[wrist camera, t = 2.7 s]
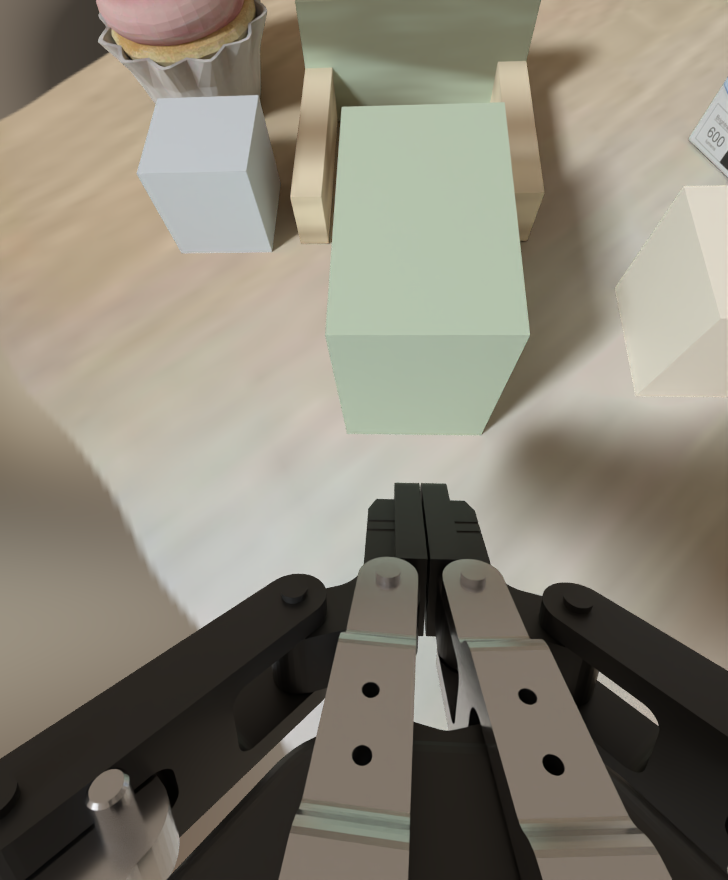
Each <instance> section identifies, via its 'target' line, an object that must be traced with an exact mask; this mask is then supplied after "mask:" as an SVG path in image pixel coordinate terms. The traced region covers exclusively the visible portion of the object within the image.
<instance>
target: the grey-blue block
mask: <svg viewBox="0 0 728 880" xmlns="http://www.w3.org/2000/svg"><path fill="white" fill-rule="evenodd" d="M137 175H138V177H139V179H140V181H141V182H142V184H143V186H144V188H145V189H146V191H147V193H148V195H149V197H150V198H151V200H152V202H153V204H154V205H155V207H156V209H157V211H158V212H159V214H160V216H161V218H162V219H163V221H164V223H165V225H166V226H167V228H168V230H169V232H170V234H171V235H172V237H173V239H174V241H175V242H176V244H177V246H178V248H179V249H180V251H181V253H243V252H272V249H273V241H274V233H275V225H276V217H277V209H278V202H279V194H280V186H281V183H280V179H279V175H278V171H277V167H276V163H275V159H274V155H273V151H272V147H271V143H270V139H269V135H268V131H267V127H266V123H265V119H264V115H263V111H262V107H261V103H260V99H259V95H245V96H215V97H186V98H157V102H156V105H155V109H154V113H153V116H152V120H151V123H150V127H149V131H148V134H147V138H146V142H145V145H144V149H143V152H142V156H141V160H140V163H139V167H138V171H137Z"/></svg>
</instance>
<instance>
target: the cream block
mask: <svg viewBox="0 0 728 880" xmlns="http://www.w3.org/2000/svg"><path fill="white" fill-rule="evenodd" d="M615 291H616V297H617V302H618V307H619V313H620V318H621V323H622V328H623V334H624V339H625V344H626V349H627V355H628V360H629V365H630V370H631V376H632V381H633V386H634V391H635V396H646V397H728V185H717V186H684V187H683V188H682V190H681V191H680V192H679V194H678V195H677V197H676V198H675V200H674V201H673V203H672V204H671V206H670V207H669V209H668V210H667V212H666V213H665V215H664V216H663V218H662V219H661V221H660V222H659V224H658V225H657V226H656V228H655V229H654V231H653V232H652V234H651V235H650V237H649V238H648V240H647V241H646V243H645V244H644V246H643V247H642V249H641V250H640V252H639V253H638V255H637V256H636V258H635V259H634V260H633V262H632V263H631V265H630V266H629V268H628V269H627V271H626V272H625V274H624V275H623V277H622V278H621V280H620V281H619V283H618V284H617V286H616V287H615Z"/></svg>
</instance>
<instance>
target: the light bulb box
mask: <svg viewBox="0 0 728 880" xmlns="http://www.w3.org/2000/svg"><path fill="white" fill-rule="evenodd" d="M689 141H690V142H691V143H692V144H694V145H695V146H696V147H697V148H698V149H699V150H700V151H701V152H702V153H703V154H704V155H705V156H706V157H707V158H708V159H709V160H710V161H711V162H712V163H713V164H714V165H715V166H716V167H717V168H718V169H719V170H720V171H722V172H723V173H724V174H725V175H726V176H727V177H728V77H727V79H726V80H725V82H724V83H723V85H722V87H721V88H720V90H719V91H718V93H717V94H716V96H715V98H714V99H713V101H712V102H711V104H710V105H709V107H708V109H707V110H706V112H705V113H704V115H703V116H702V118H701V120H700V121H699V123H698V124H697V126H696V127H695V129H694V131H693V132H692V134H691V135H690V137H689Z"/></svg>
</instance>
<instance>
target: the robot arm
mask: <svg viewBox="0 0 728 880" xmlns="http://www.w3.org/2000/svg"><path fill="white" fill-rule="evenodd" d="M424 619H425V631H426V636H436V640H437V655H436V667H437V672H438V678H439V683H440V688H441V693H442V698H443V704H444V709H445V714H446V719H447V724H448V730H449V731H443V730H439V729H436V728H432V727H429V726H425V725H422V724H419V723H415V722H413V718H414V690H415V662H416V654H417V649H418V636H423V631H424ZM599 672H601V673H602V674H604V675H605V676H606V677H608V678H609V679H610V680H612V681H613V682H614V683H616V684H617V685H619V686H620V687H621V688H623V689H624V690H625V691H627V692H628V693H630V694H631V695H632V696H634V697H635V698H636V699H638V700H639V701H640V702H642V703H643V704H644V705H646V706H647V707H648V708H649V709H650V710H651V712H652V713H653V714H654V716H655V717H656V719H657V721H658V724H659V726H658V725H656V724H655V723H653V722H652V721H651V720H649V719H648V718H647V717H645V716H644V715H643V714H641V713H640V712H639V711H637V710H636V709H635V708H633V707H632V706H631V705H629V704H628V703H627V702H625V701H624V700H623V699H621V698H620V697H619V696H617V695H616V694H615V693H613V692H612V691H611V690H609V689H608V688H607V687H605V686H604V685H603V684H601V683H600V682H599V681H597V677H598V673H599ZM324 698H325V701H324V705H323V710H322V714H321V718H320V723H319V727H318V732H317V736H316V737H314V738H312V739H310V740H308V741H306V742H304V743H303V744H301V745H299V746H298V747H296V748H295V749H293V750H292V751H291V752H289V753H288V754H287V755H286V756H285V757H283V758H282V759H281V760H280V761H279V762H278V763H277V764H276V765H275V766H274V767H273V768H272V769H271V770H270V771H269V772H268V773H267V774H266V775H265V776H264V777H263V778H262V779H261V780H260V781H259V782H258V783H257V785H256V786H255V787H254V788H253V789H252V790H251V791H250V792H249V793H248V794H247V795H246V796H245V797H244V798H243V799H242V800H241V802H240V803H239V804H238V805H237V806H236V807H235V808H234V809H233V810H232V811H231V812H230V813H229V814H228V815H227V816H226V818H225V819H223V820H222V822H221V823H220V824H219V825H218V826H217V827H216V828H215V829H214V830H213V831H212V832H211V833H210V834H209V835H208V836H207V837H206V838H205V839H204V840H203V842H202V843H201V844H200V845H199V846H198V847H197V848H196V849H195V850H194V851H193V852H192V853H191V854H190V855H189V856H188V857H187V858H186V859H185V861H184V862H183V863H182V864H181V865H180V866H179V867H178V868H177V869H176V870H175V871H174V872H173V873H172V871H173V868H174V866H175V863H176V860H177V856H178V852H179V837H180V836H182V834H184V833H185V832H186V831H187V830H188V829H189V828H190V827H191V826H192V825H193V824H194V823H195V822H196V821H197V820H198V819H199V818H200V817H201V816H202V815H204V813H205V812H206V811H208V809H210V808H211V807H212V806H213V805H214V804H215V803H216V802H217V801H218V800H219V799H220V798H221V797H222V796H223V795H224V794H225V793H227V791H229V790H230V789H231V788H232V787H233V786H234V785H235V784H236V783H237V782H238V781H239V780H240V779H241V778H242V777H243V776H244V775H245V774H246V773H247V772H249V770H251V768H253V767H254V766H255V765H256V764H257V763H258V762H259V761H260V760H261V759H262V758H263V757H264V756H265V755H266V754H267V753H268V752H269V751H270V750H271V749H273V748H274V747H275V746H276V745H277V744H278V743H279V742H280V741H281V740H282V739H283V738H284V737H285V736H286V735H287V734H288V733H289V732H290V731H291V730H292V729H293V728H295V727H296V726H297V725H298V724H299V723H300V722H301V721H302V720H303V719H304V718H305V717H306V716H307V715H308V714H309V713H310V712H311V711H312V710H313V709H314V708H315V707H316V706H318V705H319V704H320V703H321V702H322V701H323V700H324ZM171 873H172V874H171ZM0 880H728V671H727V670H725V669H724V668H722V667H720V666H719V665H717V664H715V663H714V662H712V661H710V660H709V659H707V658H705V657H704V656H702V655H700V654H699V653H697V652H695V651H694V650H692V649H690V648H689V647H687V646H685V645H684V644H682V643H680V642H679V641H677V640H675V639H674V638H672V637H670V636H669V635H667V634H665V633H664V632H662V631H660V630H659V629H657V628H655V627H654V626H652V625H650V624H649V623H647V622H645V621H644V620H642V619H640V618H639V617H637V616H635V615H634V614H632V613H630V612H629V611H627V610H625V609H624V608H622V607H620V606H619V605H617V604H615V603H614V602H612V601H610V600H609V599H607V598H605V597H604V596H602V595H600V594H599V593H597V592H595V591H594V590H592V589H590V588H587V587H585V586H582V585H579V584H574V583H556V584H553V585H551V586H549V587H548V588H546V589H545V591H544V593H543V596H539V595H535V594H532V593H528V592H524V591H521V590H518V589H515V588H513V587H511V586H509V585H507V584H506V583H505V581H504V578H503V576H502V575H501V573H500V572H499V571H498V570H497V569H496V568H495V567H493V566H492V565H491V564H490V560H489V557H488V554H487V550H486V547H485V544H484V540H483V537H482V534H481V530H480V527H479V524H478V520H477V517H476V514H475V511H474V510H473V509H472V508H471V507H470V506H469V505H468V504H467V503H466V502H465V501H450V499H449V494H448V490H447V485H446V484H434V483H421V486H419V483H395V486H394V499H376V500H375V501H374V503H373V504H372V505H371V506H370V507H369V509H368V522H367V533H366V545H365V557H364V565H363V566H362V567H361V568H360V570H359V573H358V576H357V577H356V578H354V579H353V580H351V581H350V582H348V583H345V584H343V585H339V586H335V587H330V588H325V586H324V584H323V583H322V582H321V581H320V580H319V579H317V578H315V577H313V576H310V575H306V574H291V575H287V576H283V577H281V578H279V579H277V580H275V581H273V582H272V583H270V584H269V585H267V586H266V587H264V588H263V589H261V590H259V591H258V592H256V593H255V594H253V595H252V596H250V597H249V598H247V599H246V600H244V601H243V602H241V603H239V604H238V605H236V606H235V607H233V608H232V609H230V610H229V611H227V612H226V613H224V614H223V615H221V616H219V617H218V618H216V619H215V620H213V621H212V622H210V623H209V624H207V625H206V626H204V627H203V628H201V629H199V630H198V631H196V632H195V633H194V634H192V635H191V636H189V637H187V638H186V639H184V640H182V641H181V642H179V643H178V644H176V645H175V646H173V647H172V648H170V649H169V650H167V651H166V652H164V653H162V654H161V655H159V656H158V657H156V658H155V659H153V660H152V661H150V662H149V663H147V664H146V665H144V666H143V667H141V668H139V669H138V670H136V671H135V672H133V673H132V674H130V675H129V676H127V677H126V678H124V679H122V680H121V681H119V682H118V683H116V684H115V685H113V686H112V687H110V688H109V689H107V690H106V691H104V692H103V693H101V694H99V695H98V696H96V697H95V698H93V699H92V700H90V701H89V702H87V703H86V704H84V705H82V706H81V707H79V708H78V709H76V710H75V711H73V712H72V713H70V714H69V715H67V716H66V717H64V718H63V719H61V720H59V721H58V722H56V723H55V724H53V725H52V726H50V727H49V728H47V729H46V730H44V731H42V732H41V733H39V734H38V735H36V736H35V737H33V738H32V739H30V740H29V741H27V742H25V743H24V744H22V745H21V746H19V747H18V748H16V749H15V750H13V751H12V752H10V753H9V754H7V755H6V756H4V757H3V758H1V759H0Z"/></svg>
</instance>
